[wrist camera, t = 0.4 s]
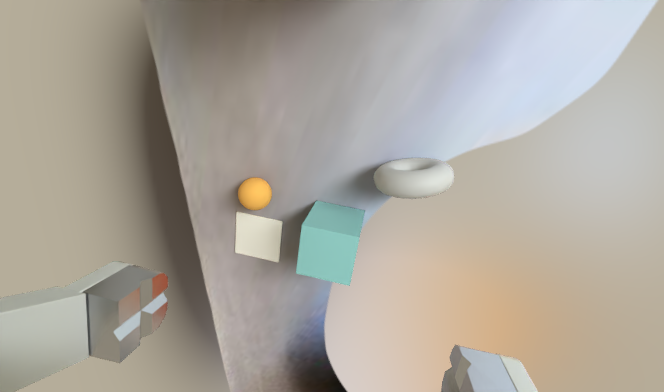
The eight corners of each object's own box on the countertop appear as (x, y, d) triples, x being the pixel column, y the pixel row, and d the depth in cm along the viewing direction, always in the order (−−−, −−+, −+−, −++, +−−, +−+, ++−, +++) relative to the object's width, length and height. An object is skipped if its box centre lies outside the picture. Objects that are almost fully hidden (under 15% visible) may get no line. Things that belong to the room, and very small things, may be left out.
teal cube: (316, 200, 50) (301, 225, 42) (364, 210, 49) (359, 237, 41) (310, 242, 53) (296, 273, 44) (356, 252, 52) (349, 285, 44)
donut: (447, 152, 44) (462, 172, 34) (447, 176, 45) (461, 202, 36) (374, 156, 46) (370, 177, 36) (376, 179, 47) (372, 205, 38)
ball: (247, 170, 50) (232, 180, 45) (277, 176, 49) (265, 187, 45) (246, 199, 52) (231, 211, 47) (275, 205, 51) (263, 218, 47)
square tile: (236, 211, 53) (236, 211, 53) (282, 221, 52) (282, 221, 52) (235, 251, 56) (235, 252, 56) (278, 261, 55) (278, 262, 55)
